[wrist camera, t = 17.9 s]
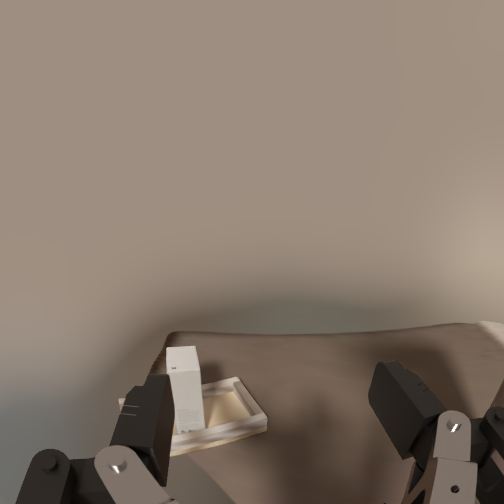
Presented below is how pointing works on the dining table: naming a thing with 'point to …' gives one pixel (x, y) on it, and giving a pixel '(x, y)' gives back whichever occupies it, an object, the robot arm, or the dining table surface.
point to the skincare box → (186, 388)
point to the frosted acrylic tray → (221, 418)
